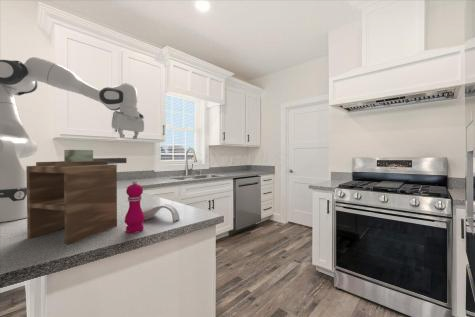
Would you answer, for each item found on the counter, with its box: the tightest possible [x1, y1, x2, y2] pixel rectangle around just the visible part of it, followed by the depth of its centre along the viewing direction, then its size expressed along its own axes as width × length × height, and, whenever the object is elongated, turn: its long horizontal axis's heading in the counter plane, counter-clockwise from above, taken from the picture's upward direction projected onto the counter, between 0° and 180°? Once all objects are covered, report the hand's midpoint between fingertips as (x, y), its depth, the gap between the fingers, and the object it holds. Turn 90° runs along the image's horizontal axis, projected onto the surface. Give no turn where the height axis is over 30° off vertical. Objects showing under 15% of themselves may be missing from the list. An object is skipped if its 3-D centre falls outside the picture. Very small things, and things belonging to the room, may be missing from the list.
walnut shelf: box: [25, 160, 118, 245], centre depth 84 cm, size 20×20×28 cm
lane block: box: [63, 149, 127, 165], centre depth 95 cm, size 6×26×6 cm, turn 164°
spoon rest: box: [141, 203, 180, 223], centre depth 102 cm, size 24×12×7 cm, turn 75°
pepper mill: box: [124, 179, 146, 234], centre depth 86 cm, size 7×7×20 cm
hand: (128, 138), depth 121 cm, fingers open, 8 cm apart
